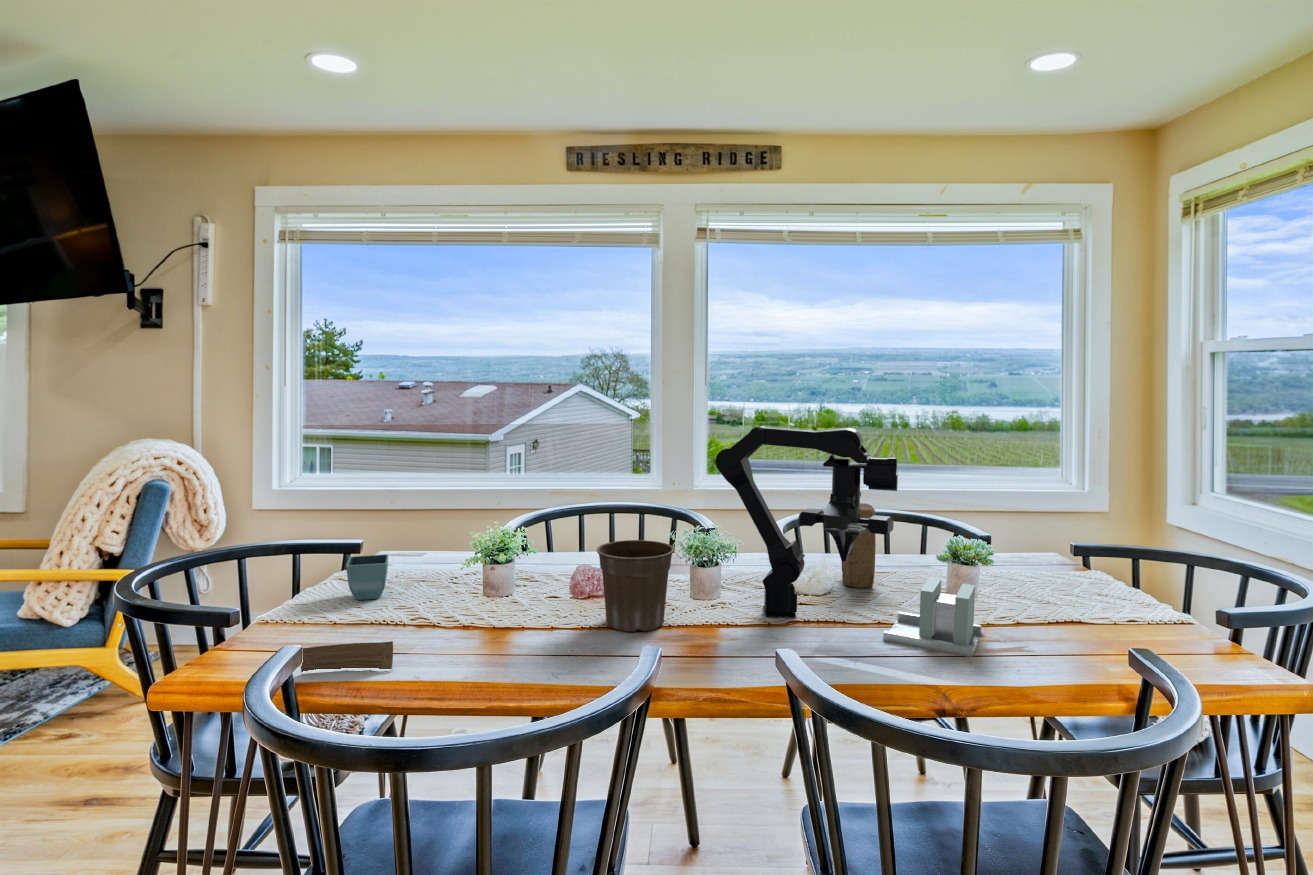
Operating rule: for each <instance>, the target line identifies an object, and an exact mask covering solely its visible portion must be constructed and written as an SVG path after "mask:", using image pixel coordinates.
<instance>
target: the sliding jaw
mask: <svg viewBox="0 0 1313 875" xmlns="http://www.w3.org/2000/svg"><path fill="white" fill-rule="evenodd" d="M941 593H942V578H936V577H929V578H928V580H927V581H926V582H925V584H924V585H923V586H922V587H921V589H920V593H919V594H920V598H919V615H920V621H919V637H923V638H928V639H933V638H934V635H935V610H936V600H937V599H938V597H939V595H940V594H941Z"/></svg>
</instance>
